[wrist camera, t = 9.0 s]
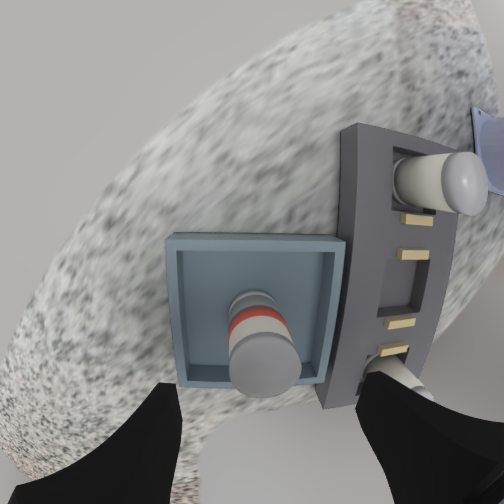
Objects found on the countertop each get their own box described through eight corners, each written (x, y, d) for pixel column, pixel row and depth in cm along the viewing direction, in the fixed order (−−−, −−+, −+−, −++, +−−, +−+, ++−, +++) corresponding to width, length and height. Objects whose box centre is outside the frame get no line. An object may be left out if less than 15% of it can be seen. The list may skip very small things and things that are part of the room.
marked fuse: (284, 292, 17) (311, 346, 11) (272, 336, 18) (290, 400, 12) (233, 284, 17) (235, 337, 11) (224, 329, 18) (222, 395, 11)
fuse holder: (438, 153, 17) (464, 150, 14) (401, 374, 21) (417, 392, 18) (340, 130, 16) (361, 120, 13) (315, 390, 20) (325, 414, 17)
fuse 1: (395, 343, 19) (440, 388, 12) (385, 374, 19) (423, 421, 13) (362, 348, 18) (403, 401, 12) (353, 380, 19) (387, 434, 13)
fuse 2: (420, 163, 16) (487, 159, 9) (419, 207, 16) (486, 218, 10) (385, 155, 15) (453, 145, 9) (384, 202, 16) (453, 212, 10)
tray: (330, 234, 17) (345, 241, 15) (314, 363, 19) (323, 382, 17) (174, 232, 16) (165, 239, 14) (183, 365, 19) (179, 386, 16)
